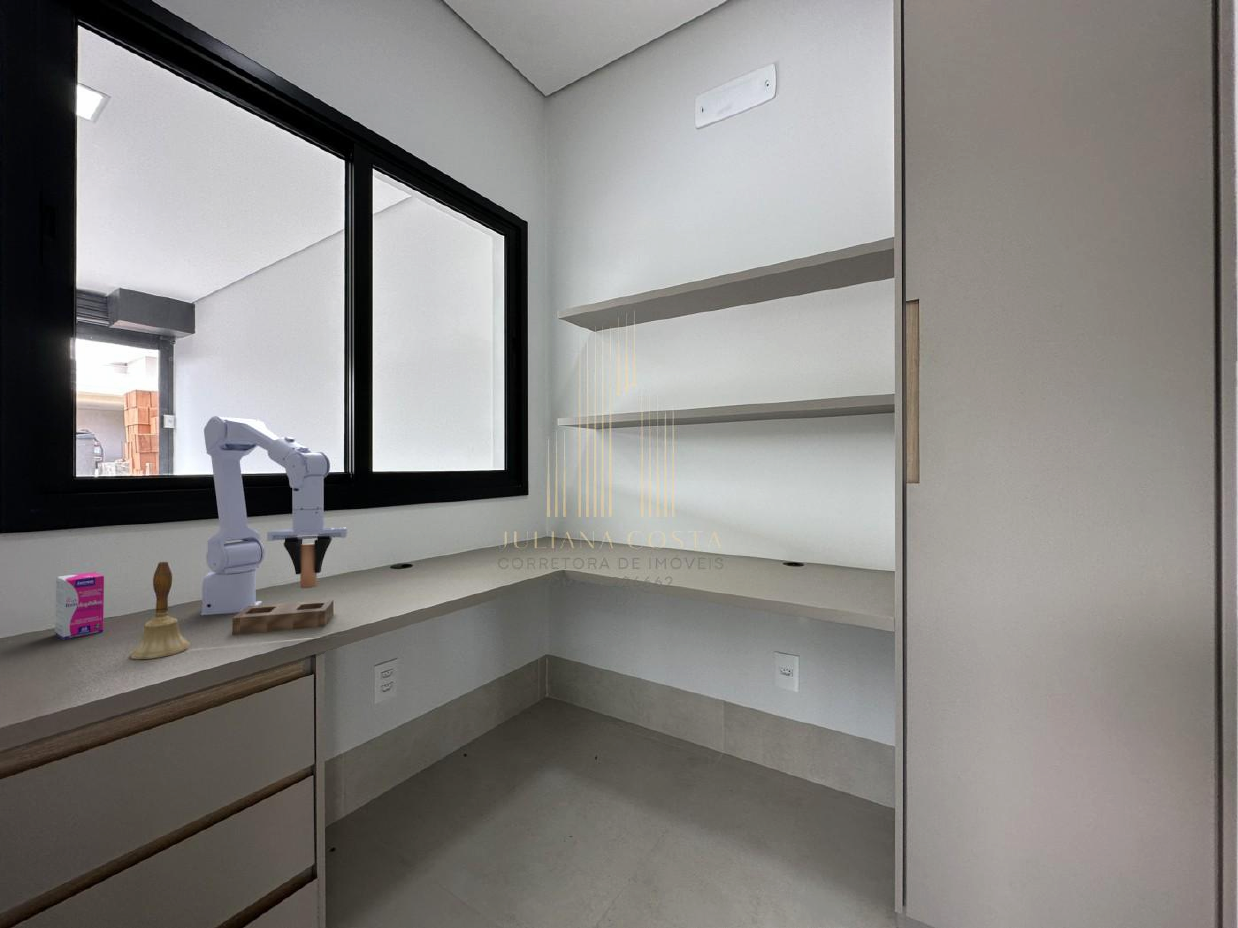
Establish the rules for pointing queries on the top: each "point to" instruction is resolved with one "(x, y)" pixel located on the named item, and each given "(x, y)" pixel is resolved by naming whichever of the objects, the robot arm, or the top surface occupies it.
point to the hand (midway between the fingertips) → (308, 572)
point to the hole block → (282, 617)
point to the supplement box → (79, 605)
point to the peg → (307, 566)
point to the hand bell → (161, 623)
